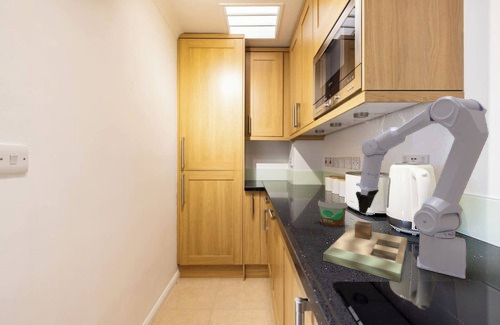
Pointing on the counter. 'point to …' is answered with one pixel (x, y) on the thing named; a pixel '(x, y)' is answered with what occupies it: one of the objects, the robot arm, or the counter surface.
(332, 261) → the board
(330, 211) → the food container
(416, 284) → the counter surface
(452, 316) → the counter surface
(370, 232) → the block
